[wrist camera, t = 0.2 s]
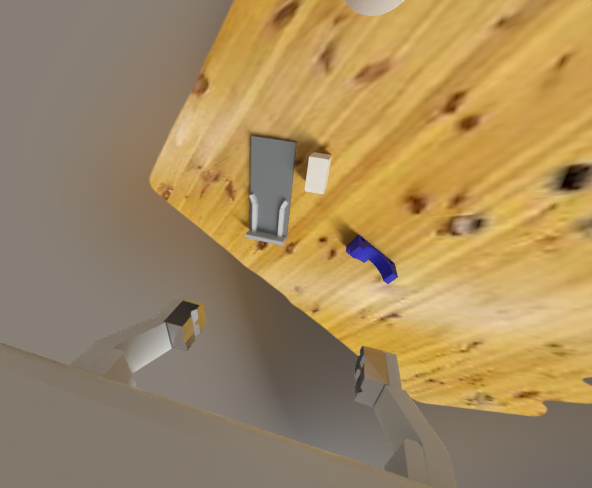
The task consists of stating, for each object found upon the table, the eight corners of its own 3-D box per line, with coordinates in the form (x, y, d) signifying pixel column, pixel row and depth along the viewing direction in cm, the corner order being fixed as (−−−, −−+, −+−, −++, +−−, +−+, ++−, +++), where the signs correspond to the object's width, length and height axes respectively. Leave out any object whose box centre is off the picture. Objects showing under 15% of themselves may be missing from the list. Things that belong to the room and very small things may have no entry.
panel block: (313, 152, 52) (309, 156, 46) (332, 154, 51) (329, 159, 46) (309, 183, 55) (304, 191, 50) (326, 186, 55) (323, 194, 49)
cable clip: (346, 245, 61) (345, 258, 56) (358, 234, 59) (359, 246, 53) (381, 273, 62) (383, 287, 57) (394, 263, 60) (397, 277, 55)
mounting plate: (253, 135, 53) (245, 137, 49) (296, 142, 51) (292, 144, 48) (251, 230, 65) (245, 237, 61) (286, 238, 63) (282, 245, 60)
